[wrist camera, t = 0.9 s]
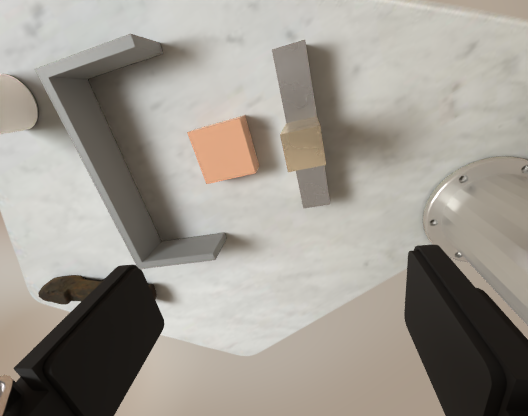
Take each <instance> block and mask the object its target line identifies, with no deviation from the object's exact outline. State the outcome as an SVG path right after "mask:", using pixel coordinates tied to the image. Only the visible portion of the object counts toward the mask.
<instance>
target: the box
mask: <svg viewBox="0 0 528 416" xmlns="http://www.w3.org/2000/svg"><path fill="white" fill-rule="evenodd" d="M160 54H163V51H162V48H161V45H160V43H159V42H156V41H153V40H149V39H146V38H143V37H139V36H136V35H133V34H128V35H126V36H123V37H120V38H117V39H115V40H112V41H109V42H107V43H104V44H101V45H98V46H96V47H93V48H90V49H88V50H85V51H82V52H79V53H77V54H74V55H71V56H69V57H66V58H63V59H61V60H58V61H55V62H52V63H50V64H47V65H44V66H42V67H39V68H36V69H35V71H36V73H37V75H38V77H39V79H40V81H41V83H42V84H43V86H44V88H45V90H46V92H47V94H48V96H49V98H50V100H51V102H52V104H53V106H54V108H55V109H56V111H57V113H58V115H59V117H60V119H61V121H62V123H63V125H64V127H65V129H66V131H67V133H68V134H69V136H70V138H71V140H72V142H73V144H74V146H75V148H76V150H77V152H78V154H79V156H80V158H81V159H82V161H83V163H84V165H85V167H86V169H87V171H88V173H89V175H90V177H91V179H92V181H93V183H94V184H95V186H96V188H97V190H98V192H99V194H100V196H101V198H102V200H103V202H104V204H105V206H106V208H107V209H108V211H109V213H110V215H111V217H112V219H113V221H114V223H115V225H116V227H117V229H118V231H119V233H120V234H121V236H122V238H123V240H124V242H125V244H126V246H127V248H128V250H129V252H130V254H131V256H132V258H133V259H134V261H135V263H136V265H137V267H138V268H139V269H145V268H153V267H162V266H170V265H178V264H187V263H195V262H204V261H212V260H216V258H217V256H218V254H219V252H220V250H221V248H222V246H223V244H224V243H225V241H226V239H227V238H226V236H225V233H217V234H210V235H203V236H197V237H190V238H183V239H176V240H169V241H162V242H161V240H160V238H159V235H158V233H157V231H156V229H155V227H154V224H153V222H152V220H151V218H150V216H149V213H148V211H147V209H146V207H145V205H144V202H143V200H142V198H141V196H140V194H139V191H138V189H137V187H136V185H135V183H134V181H133V178H132V176H131V174H130V172H129V170H128V167H127V165H126V163H125V161H124V159H123V156H122V154H121V152H120V150H119V148H118V145H117V143H116V141H115V139H114V137H113V134H112V132H111V130H110V128H109V126H108V123H107V121H106V119H105V117H104V115H103V112H102V110H101V108H100V106H99V104H98V102H97V99H96V97H95V95H94V93H93V91H92V88H91V86H90V84H89V82H88V80H87V79H89V78H92V77H95V76H98V75H101V74H104V73H107V72H110V71H113V70H116V69H119V68H122V67H125V66H128V65H130V64H133V63H136V62H139V61H142V60H145V59H148V58H151V57H154V56H157V55H160Z"/></svg>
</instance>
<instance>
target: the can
mask: <svg viewBox="0 0 528 416" xmlns="http://www.w3.org/2000/svg"><path fill="white" fill-rule="evenodd" d="M37 119H38V106H37V103H36V100H35V98H34V96H33V95H32V93H31V92H30V90H29V89H28V88H27V87H26V86H25V85H24V84H23V83H21V82H20V81H19V80H17V79H16V78H14V77H12V76H10V75H7V74H0V134H4V133H10V132H17V131H23V130H28V129H30V128H32V127H33V126H34V125H35V123H36V121H37Z"/></svg>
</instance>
